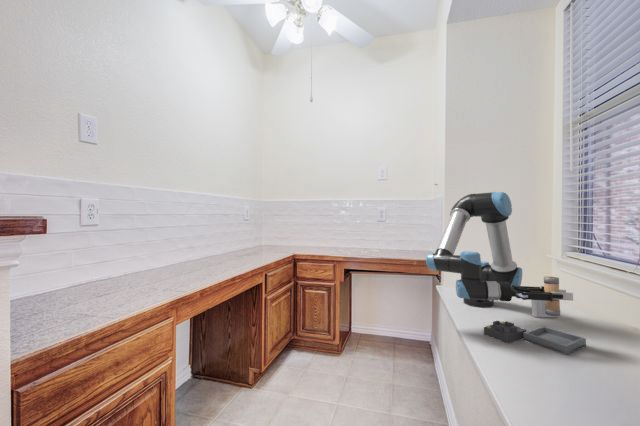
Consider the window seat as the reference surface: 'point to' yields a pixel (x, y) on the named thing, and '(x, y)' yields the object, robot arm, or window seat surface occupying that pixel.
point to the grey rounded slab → (539, 309)
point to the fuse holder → (504, 331)
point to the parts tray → (555, 340)
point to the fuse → (552, 307)
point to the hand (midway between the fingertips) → (568, 294)
